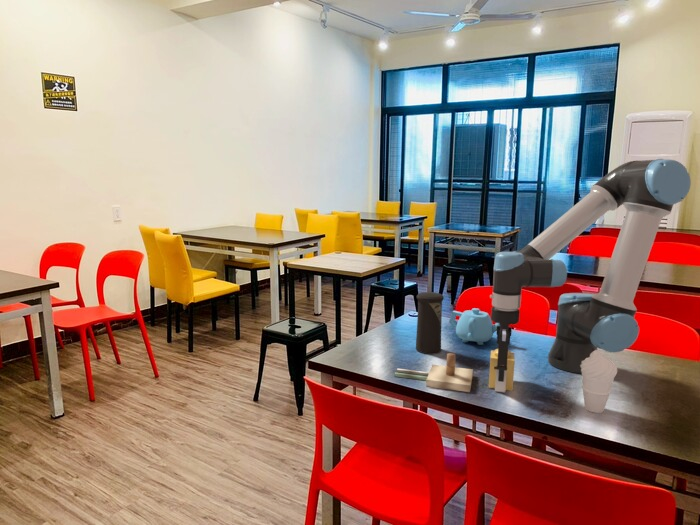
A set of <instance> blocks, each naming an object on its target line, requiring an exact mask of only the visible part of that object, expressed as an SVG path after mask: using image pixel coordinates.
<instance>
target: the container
mask: <svg viewBox="0 0 700 525" xmlns="http://www.w3.org/2000/svg"><path fill="white" fill-rule="evenodd" d="M416 299H417V319H416V320H417V321H416V322H417V324H416V339H415V350H416V351H417V352H419V353H421V354H431V355H432V354H438V353H440V352H441V351H442V323H443V322H442V319H443V318H442V317H443V316H442V313H443V310H442V309H443V301H444V299H445V298H444V295H443V294H441V293H439V292H433V291H423V292H420V293H418V294H417V295H416Z"/></svg>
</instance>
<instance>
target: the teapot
mask: <svg viewBox="0 0 700 525" xmlns="http://www.w3.org/2000/svg"><path fill="white" fill-rule="evenodd" d="M457 317H459V319H458V320H457V321H456V318H457ZM448 323H449V324H450V325H451V326H452V327H453V328H454V329H455V334H456V336H457V337H458V338H459V339H461V341H462V342H461V343H468V342H476V344H477V345H480V346H482V345H484V343H486V342H488V341H490V340H491V338H492V337H493V336H494V333H495V332H497V326H500V324H499V323H494V325H493V321H492V320H491V315H489V313H488V312H485V311H481V310H480V308H475V307H474V308H472V309H471V310H470V309H469V310H464V311H463V312H461V311H457V310H453V311H451V315H450V318H449V321H448Z"/></svg>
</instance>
